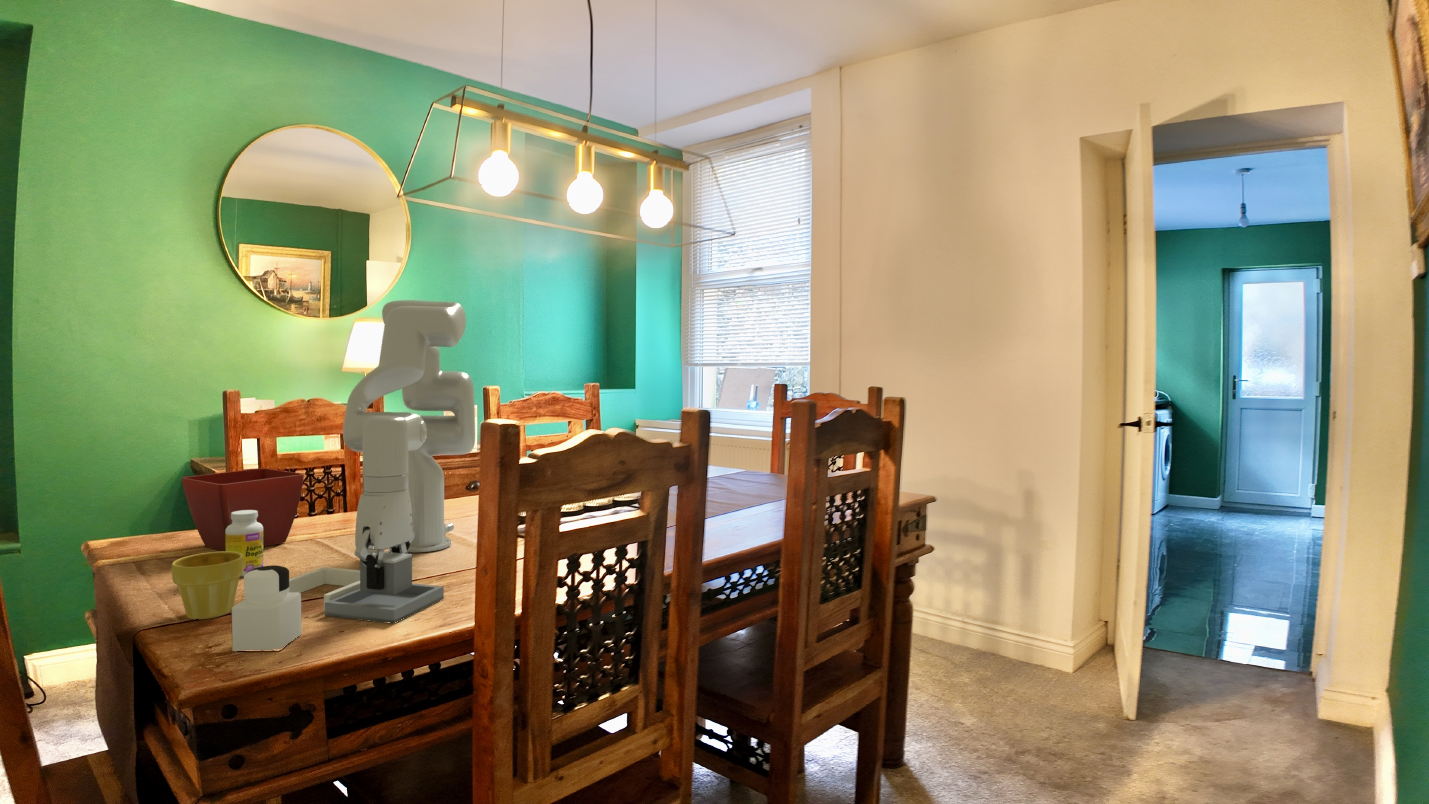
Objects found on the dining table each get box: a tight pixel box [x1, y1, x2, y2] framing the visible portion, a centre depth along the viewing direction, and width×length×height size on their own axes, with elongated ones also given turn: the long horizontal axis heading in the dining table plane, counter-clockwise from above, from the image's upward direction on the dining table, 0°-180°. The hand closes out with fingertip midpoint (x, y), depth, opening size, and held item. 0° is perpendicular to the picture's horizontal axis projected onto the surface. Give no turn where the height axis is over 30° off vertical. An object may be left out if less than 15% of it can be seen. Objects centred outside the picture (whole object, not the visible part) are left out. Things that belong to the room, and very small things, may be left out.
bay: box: [288, 566, 360, 612], centre depth 140 cm, size 15×14×3 cm
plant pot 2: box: [171, 550, 244, 620], centre depth 129 cm, size 10×10×10 cm
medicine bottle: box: [230, 564, 302, 652], centre depth 116 cm, size 7×7×12 cm
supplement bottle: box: [225, 510, 264, 578], centre depth 154 cm, size 7×7×13 cm
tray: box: [324, 582, 445, 624], centre depth 134 cm, size 14×14×2 cm
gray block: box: [359, 551, 413, 595], centre depth 134 cm, size 5×7×6 cm
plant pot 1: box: [181, 467, 305, 551], centre depth 177 cm, size 19×19×17 cm
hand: (386, 583), depth 134 cm, fingers closed on gray block, 5 cm apart
